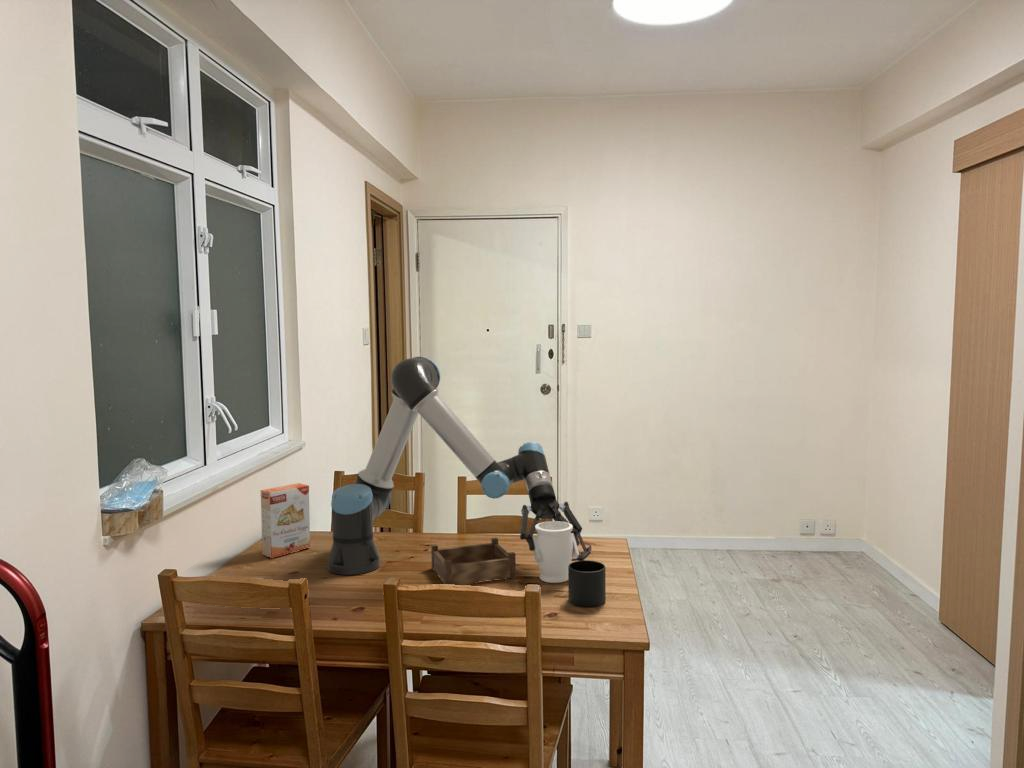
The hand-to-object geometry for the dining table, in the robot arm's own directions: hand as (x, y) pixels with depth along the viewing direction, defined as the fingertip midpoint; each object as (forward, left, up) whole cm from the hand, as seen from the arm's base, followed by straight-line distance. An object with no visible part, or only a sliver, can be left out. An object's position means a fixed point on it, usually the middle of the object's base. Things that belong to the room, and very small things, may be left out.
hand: (557, 558), depth 199 cm
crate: (-20, +15, -7) cm, 26 cm away
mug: (+2, -14, -7) cm, 16 cm away
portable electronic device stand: (+14, +20, -7) cm, 25 cm away
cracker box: (-69, +56, -7) cm, 89 cm away
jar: (0, +3, -7) cm, 7 cm away
